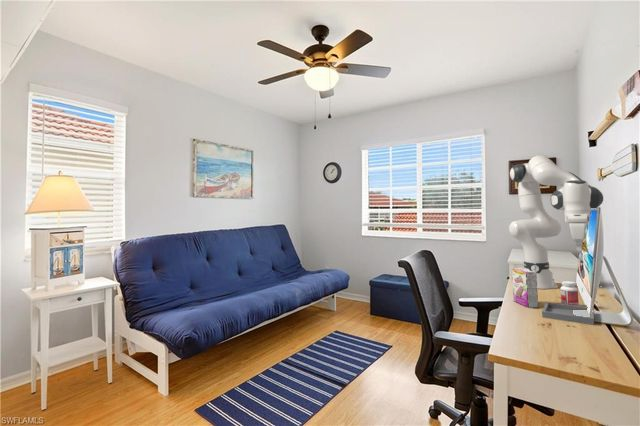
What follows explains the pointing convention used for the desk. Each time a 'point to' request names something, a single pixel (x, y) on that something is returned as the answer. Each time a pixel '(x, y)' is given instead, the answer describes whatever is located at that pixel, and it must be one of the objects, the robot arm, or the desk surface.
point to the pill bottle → (569, 293)
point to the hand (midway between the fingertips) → (579, 249)
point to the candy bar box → (525, 287)
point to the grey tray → (566, 313)
